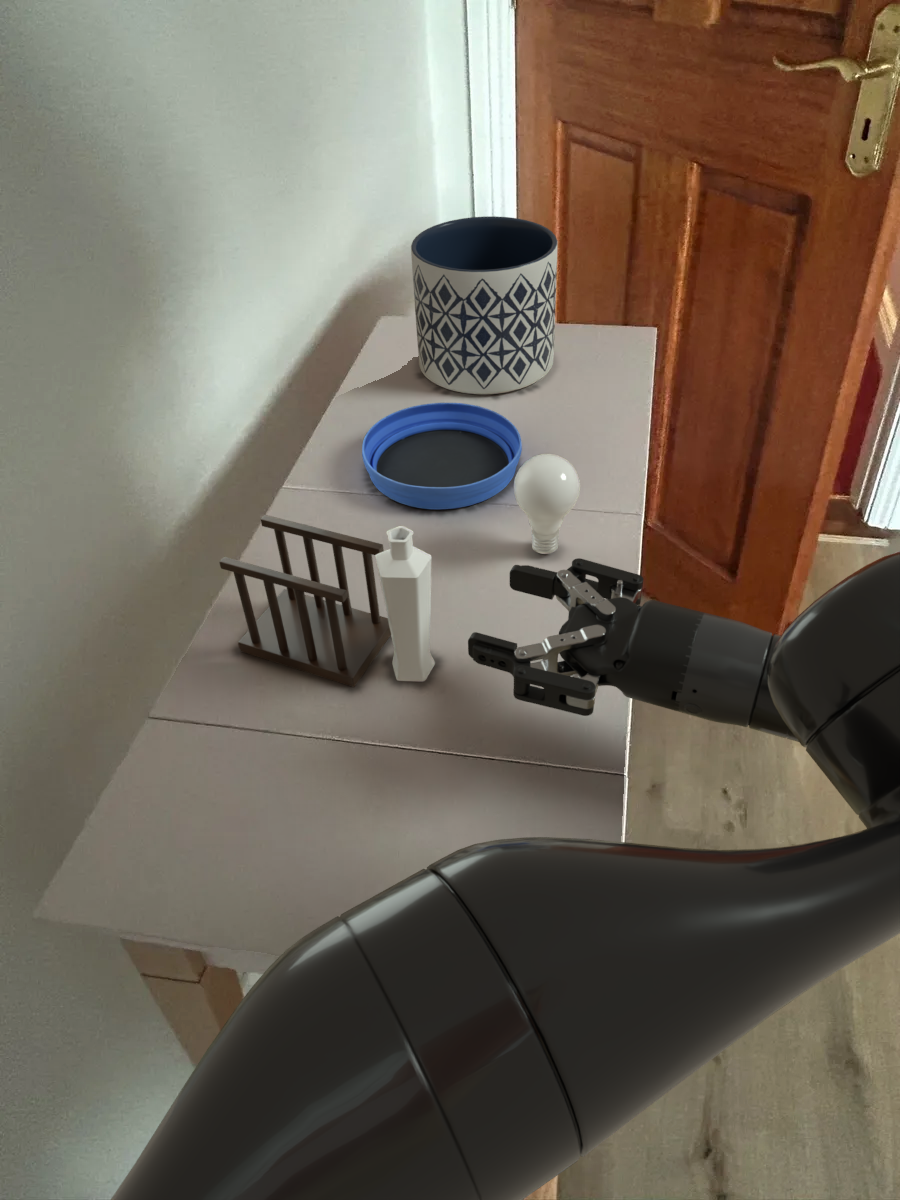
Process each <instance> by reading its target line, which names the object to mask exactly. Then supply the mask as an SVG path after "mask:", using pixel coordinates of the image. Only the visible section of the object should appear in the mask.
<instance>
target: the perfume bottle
mask: <svg viewBox="0 0 900 1200" xmlns="http://www.w3.org/2000/svg"><path fill="white" fill-rule="evenodd" d="M414 534H415V532H414V531H413V530H412V529H410V528H408V527H406V526H405V525H398V526H396V527H392V528H390V529H388V530H387V531H386V537H387V540H388V545H389V546H388V547H389V548H388V549H386V550H384V551H383V552H381V553H378V554H376V555H374V557H375V563H376V568H377V573H378V577H379V583H380V587H381V593H382V599H383V603H384V607H385V612H386V616H387V617H386V618H388V622H389V627H390V632H391V635H390V637H391V641H392V646H393V651H394V652H393V656H392V661H391V664H392V669H393V673H394V676H395V679H396V681H398V682H426V680H427V679H428V677H429V675H430V673H431V672H432V671H433V668H434V666H435V665H436V661H435V659H434V658H433V656H432V654H431V611H432V610H431V608H432V607H431V604H432V594H431V593H432V554H430V553H427V552H426V551H424V550H422V549H419V548H418V547H416V546H414V543H413V535H414Z"/></svg>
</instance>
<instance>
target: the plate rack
mask: <svg viewBox="0 0 900 1200" xmlns="http://www.w3.org/2000/svg"><path fill="white" fill-rule="evenodd" d="M260 524H261V526H262V527H264V528H267V529H272V530H273V531H274V535H275V540H276V545H277V549H278V553H279V560H280V563H281V569H282V571H278V570H274V569H270V568H267V567H263V566H260V565H256V564H254V563H253V564H252V563H250V562H249V563H248V562H245V561H241V560H239V559H235V558H230V557H227V556H223V557H222V558H221V559H220V560H219V566H220V569H221V570H225V571H228V572H232V573H233V575H234V579H235V583H236V588H237V591H238V595H239V599H240V603H241V606H242V611H243V614H244V617H245V622H246V626H247V631H246V632H245V634H244V635H243V636H242V637H241V638H240V639H239V640H238V642H237V644H238V649H239V651H240V652H241V653H245V654H248V655H251V656H254V657H257V658H260V659H262V660H263V659H264V660H266V661H269V662H273V663H275V664H280V665H282V666H286V667H289V668H291V669H292V668H293V669H295V670H298V671H301V672H305V673H307V674H311V675H314V676H318V677H321V678H323V679H327V680H330V681H333V682H336V683H338V684H343V685H346V686H349V687H353V688H355V687H356V685H357V684H358V683H359V681H360V680H361V678H362V677H363V676H364V674H365V673H366V671H367V670H368V668H369V667H370V666H371V664H372V662H373V661H374V659H375V658H376V657H377V656H378V654H379V653H380V651H381V650H382V648H383V647H384V645H385V644H386V643H387V641H388V639H389V638H390V637H391V632H390V627H389V622H388V617H385V616H382V615H380V614H381V613H380V608H379V607H380V606H379V600H378V599H379V598H378V592H377V591H378V590H377V585H376V577H375V576H376V575H375V569H374V568H375V567H374V561H373V556H375V555H376V554H378V553H381V552H383V551H385V550H384V549H385V548H384V543H383V544H382V543H379V542H375V541H372V540H368V539H363V538H359V537H355V536H352V535H348V534H343V533H340V532H335V531H331V530H327V529H324V528H319V527H317V526H316V527H315V526H312V525H308V524H304V523H300V522H296V521H292V520H289V519H285V518H280V517H276V516H272V515H268V514H264V515H263V516H262V517H261V518H260ZM285 533H287V534H291V535H295V536H297V537H302V541H303V546H304V551H305V556H306V561H307V567H308V572H309V577H310V579H307V578H303V577H300V576H297V575H294V574H293V569H292V565H291V560H290V559H291V558H290V555H289V551H288V546H287V541H286V540H287V539H286V536H285ZM313 540H314V541H319V542H321V543H326V544H330V545H331V547H332V553H333V558H334V559H333V560H334V563H335V564H334V565H335V571H336V578H337V583H338V587H335V586H333V585H328V584H325V583H323V582H321V578H320V573H319V568H318V563H317V558H316V557H317V556H316V551H315V546H314V541H313ZM343 548H346V549H349V550H353V551H357V552H361V555H362V562H363V568H364V576H365V583H366V590H367V591H366V592H367V597H368V606H369V612H367V611H364V610H360V609H357V608H353V607H352V605H351V597H350V590H349V584H348V579H347V572H346V565H345V559H344V552H343ZM245 576H246V577H250V578H252V579H253V578H254V579H257V580H260V581H263V582H262V583H263V586H264V590H265V595H266V598H267V603H268V607H267V608H266V609H265V611H264V612H262V614H261V615H260V616H259V617H258V619H256V616H255V612H254V608H253V606H252V605H253V604H252V600H251V597H250V593H249V588H248V584H247V581H246V577H245ZM275 585H279V586H282V587H284V589H282V591H281V592H280V593H279V594H278V595H277V592H276V587H275ZM305 593H306V594H305ZM307 594H310V595H307ZM311 595H313V596H311ZM337 602H339V603H341V604H339V603H337Z"/></svg>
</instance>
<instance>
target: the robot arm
mask: <svg viewBox="0 0 900 1200" xmlns="http://www.w3.org/2000/svg"><path fill="white" fill-rule="evenodd" d="M587 576H590V577H595V578H596V579H597V581H596V580H592V579H589V578H587ZM509 587H510V589H511V590H513V591H516V592H519V593H523V594H526V595H527V594H528V595H531V596H535V597H540V598H542V599H548V600H551V601H552V600H553V599H554V597H555V599H556V600H557V601H558V602H559V603H560V604H561V605H562V606H563V607H564V609H566V610H567V611H568V617H567V620H566V621H565V622H564V623H563V624H562V626H561V627H560V629H559V631H558V634H554V635H550V636H547V637H545V638H544V639H543V640H542V641H541V642H537V643H534V644H529V645H528V644H527V645H524V646H519V647H518V643H517V642H513V641H509V640H506V639H502V638H499V637H496V636H491V635H488V634H484V633H480V632H477V631H476V632H475V631H474V632H472V633H471V634H470V636H469V638H468V640H467V653H468V656H469V657H470V658H472V660H473V662H475V663H476V664H478V665H482V666H485V667H489V668H492V669H495V670H498V671H502V672H505V673H509V674H510V675H511V676H512V677H513V689H512V690H513V691H512V692H513V697H514V698H515V699H516V700H519V701H522V702H526V703H529V704H535V705H538V706H543V707H546V708H547V707H548V708H551V709H555V710H558V711H562V712H567V713H569V714H570V713H571V714H575V715H578V716H579V715H580V716H582V717H583V716H584V717H588V716H591V715H592V714H593V713H594V711H595V710H594V708H595V702H596V694H597V692H598V688H599V687H602V686H603V687H604V686H610V687H614V688H617V689H618V690H619V691H620V692H621V693H622V694H623V696H625V697H626V698H629V699H632V700H636V701H639V702H642V703H646V704H650V705H653V706H656V707H660V708H664V709H668V710H671V711H674V712H678V713H681V714H685V715H688V716H693V717H696V718H699V719H703V720H705V721H710V722H714V723H719V724H726V725H733V726H739V727H743V728H749V729H750V730H755V731H757V732H761V733H765V734H769V735H772V736H775V737H778V738H783V739H787V740H790V741H793V742H797V743H799V744H800V745H801V747H803V748H805V751H806V752H807V754H808V755H809V756H810V758H811V759H812V761H814V763H815V765H816V766H818V768H819V770H821V772H822V773H823V774H824V775H825V777H826V778H827V779H828V780H829V782H830V783H831V784H832V786H834V788H835V789H836V791H837V792H838V793H839V794H840V796H841V797H842V798H843V799H844V801H845V802H846V803H847V805H848V806H849V807H850V809H851V810H852V811H853V812H854V813H855V815H856V816H858V819H859V820H860V822H861V823H862V824H863V825H864V827H865V828H866V829H862V830H861V829H860V830H858V831H855V832H851V833H849V834H848V833H847V834H845V835H842V836H837V837H831V838H825V839H821V840H820V839H819V840H815V841H811V842H805V843H801V844H794V845H789V846H788V845H787V846H780V847H779V846H778V847H768V848H748V849H747V848H745V849H709V848H708V849H706V848H689V847H676V846H668V845H667V846H666V845H655V844H647V843H636V842H627V841H625V842H624V841H615V840H614V841H613V840H602V839H593V838H592V839H591V838H574V837H573V838H571V837H553V836H552V837H550V836H549V837H548V836H537V837H535V836H534V837H532V836H530V837H514V838H502V839H494V840H489V841H482V842H477V843H474V844H473V843H472V844H470V845H468V846H464V847H463V848H462V847H461V848H460V849H457V850H454V851H453V852H451V853H449V854H447V855H445V856H443V857H441V858H440V859H438V860H436V861H434V862H433V863H431V864H429V865H428V866H426V868H422V869H420V870H418V871H417V872H415V873H413V874H411V875H409V876H407V877H406V878H404V879H402V880H401V881H398V882H397V883H394V884H393V885H392V886H389V887H388V888H385V889H384V890H382V891H381V892H378V893H377V894H375V895H373V896H371V897H370V898H368V899H365V900H364V901H362V902H360V903H359V904H357V905H355V906H353V907H351V908H350V909H348V910H346V911H344V912H343V913H340V915H338V916H337V915H336V916H335V917H333V918H332V919H330V920H328V921H327V922H325V923H323V924H321V925H320V926H318V927H317V928H315V929H314V930H312V931H310V932H308V933H307V934H306V935H304V936H302V937H301V938H300V939H298V940H297V941H295V942H294V943H293V944H292V945H290V946H289V947H288V948H287V949H285V950H284V952H283V953H282V954H280V956H279V957H277V959H275V961H273V962H272V964H270V965H269V966H268V968H267V969H266V970H265V971H264V972H263V973H262V974H261V976H260V977H259V978H258V980H256V981H255V983H254V984H253V985H252V986H251V987H250V989H249V991H248V992H247V993H246V994H245V996H244V997H243V998H242V999H241V1001H239V1003H238V1005H236V1008H235V1009H234V1010H233V1012H232V1013H231V1015H230V1016H229V1017H228V1019H227V1020H226V1022H225V1023H224V1025H223V1026H222V1028H221V1029H220V1031H219V1032H218V1033H217V1034H216V1036H215V1038H214V1039H213V1040H212V1042H211V1043H210V1045H209V1047H207V1049H206V1051H205V1052H204V1054H203V1056H202V1057H201V1059H200V1060H199V1061H198V1063H197V1065H196V1067H195V1068H194V1069H193V1071H192V1072H191V1074H190V1075H189V1077H188V1079H187V1080H186V1082H185V1084H184V1085H183V1086H182V1088H181V1089H180V1091H179V1093H178V1094H177V1096H176V1097H175V1099H174V1101H173V1102H172V1104H171V1105H170V1107H169V1109H168V1110H167V1112H166V1113H165V1115H164V1116H163V1118H162V1119H161V1121H160V1123H159V1124H158V1126H157V1128H156V1129H155V1131H154V1132H153V1134H152V1135H151V1137H150V1139H149V1140H148V1142H147V1143H146V1144H145V1147H144V1148H143V1150H142V1152H141V1153H140V1154H139V1156H138V1158H137V1160H136V1161H135V1163H134V1164H133V1166H131V1168H130V1169H129V1171H128V1173H127V1174H126V1176H125V1177H124V1179H123V1180H122V1182H121V1184H119V1186H118V1188H117V1189H116V1190H115V1192H114V1194H113V1195H112V1197H111V1198H110V1200H524V1199H526V1198H528V1197H529V1196H530V1195H531V1194H533V1193H535V1192H536V1191H537V1190H538V1189H541V1187H543V1186H545V1185H546V1184H547V1183H549V1182H550V1181H551V1180H553V1179H555V1178H556V1177H557V1176H559V1175H561V1174H562V1173H563V1172H564V1171H566V1170H567V1169H569V1168H570V1167H572V1166H573V1165H574V1164H576V1163H577V1162H578V1161H579V1160H580V1157H586V1156H587V1155H588V1154H589V1153H591V1152H592V1151H593V1150H595V1149H596V1148H597V1147H599V1146H600V1145H601V1144H602V1143H604V1142H605V1141H607V1140H608V1139H609V1138H610V1137H612V1135H615V1133H617V1132H618V1131H619V1130H620V1129H622V1128H623V1127H625V1126H626V1125H627V1124H629V1123H630V1122H631V1121H632V1120H634V1119H635V1118H636V1117H638V1116H639V1115H640V1114H642V1112H644V1111H645V1110H647V1109H648V1108H649V1107H651V1106H652V1105H653V1104H654V1103H656V1102H657V1101H658V1100H660V1099H661V1098H662V1097H664V1096H665V1095H666V1094H668V1093H669V1092H670V1091H672V1090H673V1089H674V1088H675V1087H677V1086H678V1085H680V1084H681V1083H682V1082H684V1081H685V1080H686V1079H687V1078H689V1077H691V1076H692V1075H693V1074H694V1073H695V1072H697V1071H699V1069H701V1068H702V1067H703V1066H705V1065H706V1064H708V1063H709V1062H710V1061H712V1060H714V1059H715V1058H716V1057H717V1056H718V1055H720V1054H721V1053H723V1052H724V1051H725V1050H726V1049H728V1048H729V1047H731V1046H732V1045H734V1043H736V1042H738V1041H739V1040H740V1039H741V1038H743V1037H744V1036H746V1035H747V1034H748V1033H750V1032H751V1031H753V1030H754V1029H755V1028H756V1027H758V1026H759V1025H760V1024H762V1023H763V1022H765V1021H766V1020H767V1019H768V1018H770V1017H771V1016H773V1015H774V1014H775V1013H777V1012H778V1011H780V1010H781V1009H782V1008H784V1007H785V1006H787V1005H788V1004H790V1003H792V1002H793V1001H794V1000H796V999H797V998H799V997H800V996H802V995H803V994H804V993H806V992H807V991H809V990H810V989H812V988H813V987H815V986H816V985H819V983H821V982H823V981H825V980H826V979H828V978H830V977H831V976H833V975H834V974H835V973H837V972H839V971H840V970H841V969H844V968H845V967H847V966H848V965H850V964H852V963H854V962H855V961H857V960H858V959H860V958H862V957H864V956H865V955H866V954H868V953H870V952H872V951H874V950H875V949H876V948H878V947H879V946H881V945H884V944H885V943H887V942H888V941H890V940H891V939H894V938H895V937H896V936H898V935H900V550H899V551H896V552H893V553H889V554H887V555H884V556H882V557H880V558H877V559H876V560H875V561H871V562H870V563H868V564H866V565H864V566H863V567H861V568H859V569H857V570H856V571H854V572H853V573H851V574H850V575H847V577H845V578H844V579H842V580H841V581H840V582H838V583H836V584H835V585H833V586H832V587H831V588H830V589H828V590H827V591H825V592H824V593H823V594H822V595H820V596H819V597H818V598H817V599H815V600H814V601H813V602H812V603H810V605H808V607H806V608H805V609H803V611H802V612H800V613H799V615H797V617H796V618H794V620H793V621H791V623H790V624H788V626H787V627H786V628H785V630H784V631H783V633H782V634H778V633H772V632H771V631H767V630H764V629H762V628H759V627H756V626H754V625H751V624H749V623H746V622H743V621H740V620H736V619H733V618H728V617H725V616H720V615H716V614H712V613H709V612H708V613H707V612H704V611H701V610H700V611H699V610H696V609H691V608H687V607H684V606H680V605H677V604H672V603H667V602H663V601H660V600H656V599H649V600H646V601H645V602H644V603H643V604H642V606H641V605H640V604H641V602H642V593H643V587H644V577H643V576H642V575H641V574H639V573H635V572H630V571H627V570H623V569H621V568H617V567H613V566H609V565H606V564H602V563H599V562H595V561H592V560H588V559H585V558H580V557H579V558H575V559H572V561H571V565H570V566H569V567H568V568H567V569H560V570H559V571H553V570H549V569H545V568H541V567H537V566H534V565H533V566H532V565H528V564H527V565H519V564H515V565H512V568H511V569H510V571H509ZM559 656H560V657H561V659H562V660H561V661H559Z"/></svg>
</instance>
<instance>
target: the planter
mask: <svg viewBox="0 0 900 1200" xmlns="http://www.w3.org/2000/svg"><path fill="white" fill-rule="evenodd" d="M558 243H559V242H558V238H557V236H556V235H555V233H554V232H553V231H552V230H550V229H549V228H548V227H546V226H544V225H542V224H539V223H537V222H534V221H531V220H528V219H527V220H526V219H522V218H517V217H508V216H493V215H492V216H491V215H490V216H471V217H463V218H458V219H453V220H448V221H444V222H440V223H438V224H435V225H433V226H430V227H428V228H426V229H425V230H423V231H421V232H420V233H418V234H417V235H416V236H415V237H414V239H413V240H412V242H411V244H410V253H411V255H410V256H411V271H412V272H411V273H412V285H413V286H412V287H413V298H414V300H413V301H414V312H415V313H414V314H415V326H416V340H417V341H416V342H417V354H418V366H419V369H420V372H421V373H422V374H423V376H425V378H427V379H428V380H429V381H430V382H432V383H434V384H435V385H437V386H439V387H441V388H443V389H446V390H449V391H452V392H453V391H454V392H456V393H462V394H468V395H499V394H505V393H510V392H514V391H519V390H521V389H524V388H526V387H529V386H531V385H533V384H535V383H537V382H538V381H540V380H542V379H543V378H544V377H545V376H546V375H548V373H549V372H550V371H551V369H552V367H553V365H554V359H555V358H554V357H555V338H556V337H555V333H556V308H557V307H556V306H557V305H556V302H557V280H558V279H557V278H558Z"/></svg>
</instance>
